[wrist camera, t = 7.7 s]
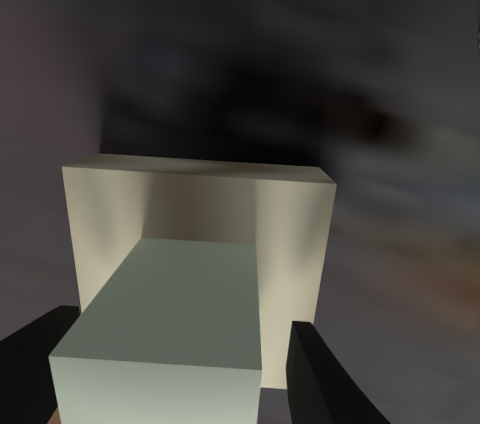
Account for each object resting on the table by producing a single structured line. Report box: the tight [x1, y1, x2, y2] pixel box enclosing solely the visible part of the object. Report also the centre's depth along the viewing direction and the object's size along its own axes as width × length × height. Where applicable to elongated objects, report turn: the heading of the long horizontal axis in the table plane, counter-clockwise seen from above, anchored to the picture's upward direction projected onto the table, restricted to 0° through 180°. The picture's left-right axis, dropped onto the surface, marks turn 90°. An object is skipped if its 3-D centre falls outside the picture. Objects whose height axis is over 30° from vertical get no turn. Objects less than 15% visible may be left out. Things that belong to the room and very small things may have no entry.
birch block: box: [62, 153, 337, 389], centre depth 14 cm, size 10×10×3 cm
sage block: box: [48, 237, 262, 424], centre depth 10 cm, size 4×4×6 cm
